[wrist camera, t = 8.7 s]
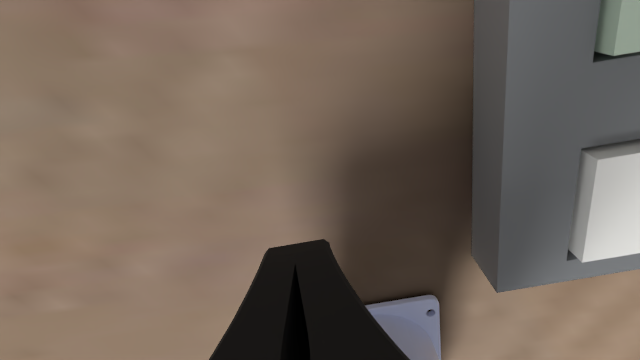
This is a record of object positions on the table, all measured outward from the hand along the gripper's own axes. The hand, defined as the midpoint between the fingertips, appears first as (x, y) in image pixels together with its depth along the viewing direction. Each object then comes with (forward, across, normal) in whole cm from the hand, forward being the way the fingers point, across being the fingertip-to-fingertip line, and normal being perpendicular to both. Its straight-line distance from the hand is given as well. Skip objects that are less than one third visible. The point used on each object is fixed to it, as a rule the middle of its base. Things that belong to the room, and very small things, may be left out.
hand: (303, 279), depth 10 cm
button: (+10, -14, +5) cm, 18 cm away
